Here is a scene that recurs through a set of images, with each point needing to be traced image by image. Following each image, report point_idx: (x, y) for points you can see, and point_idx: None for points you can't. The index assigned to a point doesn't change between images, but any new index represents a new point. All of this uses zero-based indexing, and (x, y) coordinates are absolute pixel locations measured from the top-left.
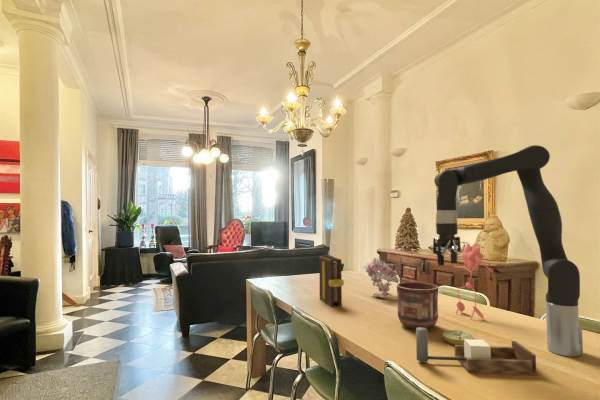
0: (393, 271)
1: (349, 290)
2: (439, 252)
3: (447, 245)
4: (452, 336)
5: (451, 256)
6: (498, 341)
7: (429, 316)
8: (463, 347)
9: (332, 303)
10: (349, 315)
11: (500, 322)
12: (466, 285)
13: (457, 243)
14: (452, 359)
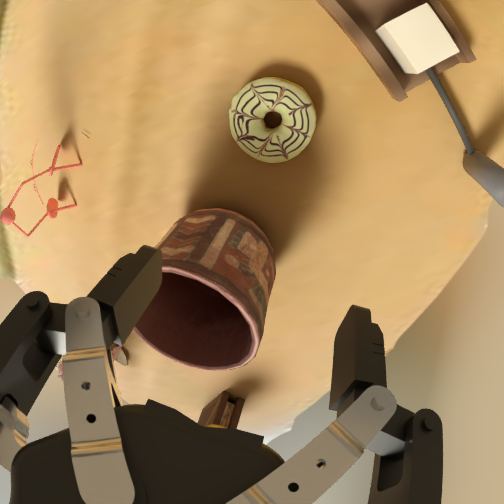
0: (61, 373)
1: (136, 394)
2: (433, 426)
3: (286, 485)
4: (306, 128)
5: (133, 321)
6: (183, 43)
7: (239, 227)
8: (394, 77)
9: (241, 403)
10: (270, 369)
11: (52, 109)
12: (12, 219)
13: (7, 380)
14: (448, 96)
